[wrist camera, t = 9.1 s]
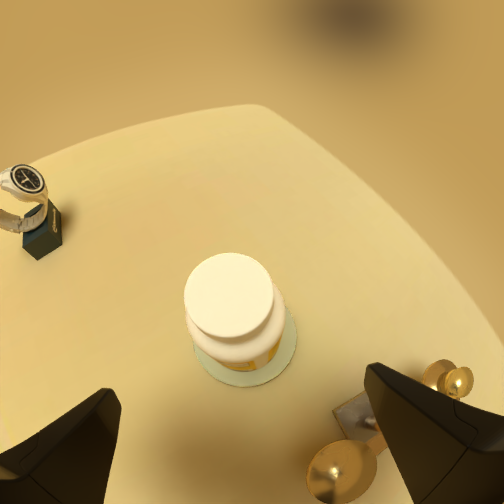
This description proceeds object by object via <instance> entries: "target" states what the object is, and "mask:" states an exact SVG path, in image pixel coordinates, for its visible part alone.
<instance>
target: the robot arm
mask: <svg viewBox="0 0 504 504" xmlns="http://www.w3.org/2000/svg"><path fill="white" fill-rule="evenodd" d="M364 387H365V390H366V393H367V396H368V399H369V402H370V405H371V408H372V411H373V414H374V417H375V419H376V422H377V424H378V426H379V428H380V430H381V432H382V435H383V437H384V439H385V441H386V443H387V445H388V447H389V449H390V451H391V454H392V456H393V458H394V460H395V462H396V464H397V467H398V469H399V471H400V473H401V475H402V478H403V480H404V482H405V484H406V487H407V489H408V491H409V493H410V496H411V498H412V500H413V503H414V504H504V416H501V415H498V414H494V413H491V412H488V411H484V410H481V409H479V408H476V407H473V406H470V405H468V404H465V403H463V402H461V401H459V400H456V399H453V398H452V397H450V396H447V395H445V394H443V393H441V392H439V391H437V390H435V389H432V388H430V387H428V386H426V385H424V384H422V383H420V382H418V381H416V380H414V379H412V378H409V377H407V376H405V375H403V374H401V373H399V372H397V371H395V370H393V369H391V368H389V367H387V366H385V365H383V364H381V363H379V362H376V363H372V364H369V365H367V367H366V373H365V379H364ZM120 416H121V404H120V402H119V400H118V398H117V396H116V394H115V392H114V390H112V389H111V388H101V389H100V390H98V391H97V392H96V393H94V394H93V395H91V396H90V397H88V398H87V399H86V400H84V401H83V402H81V403H80V404H78V405H77V406H76V407H74V408H73V409H71V410H70V411H68V412H67V413H65V414H64V415H62V416H61V417H60V418H58V419H57V420H55V421H54V422H52V423H51V424H49V425H48V426H46V427H45V428H43V429H42V430H40V431H39V432H37V433H36V434H34V435H33V436H31V437H30V438H28V439H27V440H25V441H23V442H22V443H20V444H18V445H16V446H14V447H13V448H11V449H9V450H7V451H5V452H3V453H1V454H0V504H103V503H104V498H105V493H106V488H107V483H108V478H109V473H110V469H111V464H112V460H113V456H114V452H115V448H116V443H117V437H118V430H119V423H120Z"/></svg>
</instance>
